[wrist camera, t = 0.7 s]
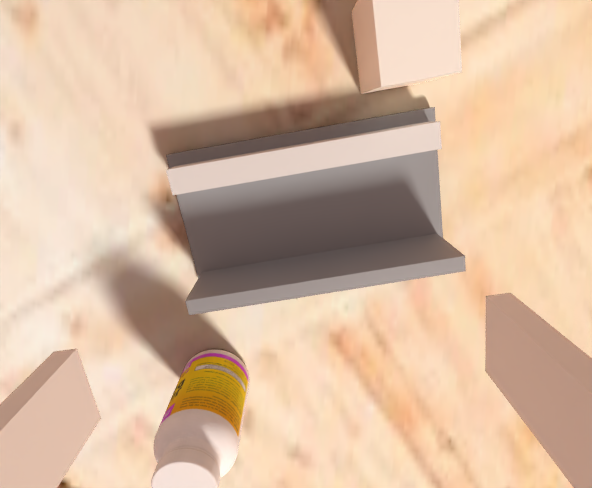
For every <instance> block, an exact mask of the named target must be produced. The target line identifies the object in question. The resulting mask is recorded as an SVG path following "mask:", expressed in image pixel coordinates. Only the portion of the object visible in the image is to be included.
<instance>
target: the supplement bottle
mask: <svg viewBox="0 0 592 488" xmlns="http://www.w3.org/2000/svg"><path fill="white" fill-rule="evenodd" d="M248 388H249V373H248V370H247V368H246V366H245V364H244V363H243V362H242V361H241V360H240V359H239V358H238V357H237V356H235V355H234V354H232V353H230V352H227V351H224V350H206V351H203V352H200V353H198V354H196V355H195V356H194V357H192V358H191V359H190V360H189V361H188V363H187V364H186V366H185V368H184V370H183V372H182V375H181V377H180V379H179V382H178V384H177V386H176V389H175V391H174V393H173V396H172V398H171V400H170V403H169V405H168V407H167V410H166V412H165V415H164V417H163V419H162V422H161V424H160V426H159V428H158V431H157V433H156V436H155V440H154V454H155V458H156V461H157V463H158V464H157V466H156V469H155V472H154V475H153V477H152V482H151V486H152V488H218V486H219V482H220V478H221V477H223V476H224V475H225V474H226V473H227V472H228V471H229V470H230V469H231V467H232V466H233V464H234V462H235V460H236V457H237V454H238V448H239V442H240V435H241V429H242V423H243V417H244V412H245V406H246V400H247V394H248Z"/></svg>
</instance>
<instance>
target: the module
mask: <svg viewBox="0 0 592 488" xmlns="http://www.w3.org/2000/svg"><path fill="white" fill-rule="evenodd" d="M351 14H352V22H353V31H354V40H355V48H356V57H357V66H358V74H359V83H360V92H361V94H364V93H369V92H375V91H380V90H386V89H391V88H397V87H403V86H408V85H414V84H419V83H424V82H428V81H431V80H435V79H439V78H442V77H446V76H450V75H453V74H457V73H461V72H462V62H461V39H460V16H459V0H358V1H357V2H356V4H355V6H354V8H353V10H352V12H351Z"/></svg>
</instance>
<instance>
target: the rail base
mask: <svg viewBox="0 0 592 488" xmlns="http://www.w3.org/2000/svg"><path fill="white" fill-rule="evenodd" d="M438 149H442V146H441V130H440V122H435V107H432V108H425V109H420V110H414V111H409V112H403V113H397V114H392V115H386V116H380V117H375V118H369V119H364V120H358V121H352V122H347V123H341V124H336V125H330V126H324V127H319V128H313V129H307V130H302V131H296V132H291V133H285V134H279V135H274V136H268V137H262V138H257V139H251V140H246V141H240V142H234V143H229V144H223V145H218V146H212V147H206V148H201V149H195V150H189V151H184V152H178V153H173V154H168V155H166V157H167V161H168V165H169V169H167V170H166V172H167V176H168V180H169V183H170V187H171V191H172V195H177V199H178V203H179V206H180V210H181V214H182V218H183V222H184V225H185V229H186V233H187V237H188V241H189V244H190V248H191V252H192V256H193V260H194V263H195V267H196V271H197V275H198V280H197V282H196V284H195V285H194V287H193V289H192V290H191V292H190V294H189V296H188V297H187V299H186V301H185V302H186V305H187V309H188V313H189V315H193V314H199V313H206V312H212V311H218V310H224V309H231V308H237V307H243V306H249V305H256V304H262V303H268V302H274V301H281V300H287V299H293V298H300V297H306V296H312V295H318V294H325V293H331V292H337V291H343V290H350V289H356V288H362V287H368V286H375V285H381V284H387V283H394V282H400V281H406V280H412V279H419V278H425V277H431V276H437V275H444V274H450V273H456V272H463V271H466V270H465V256H464V255H463V254H462V253H461V252H459V251H458V250H457V249H456V248H454V247H453V246H452V245H451V244H449V243H448V242H447V241H446V240H444V239H443V232H442V216H441V201H440V185H439V169H438V154H437V150H438Z"/></svg>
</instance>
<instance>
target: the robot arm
mask: <svg viewBox="0 0 592 488" xmlns="http://www.w3.org/2000/svg"><path fill="white" fill-rule="evenodd" d="M485 371H486V372H487V374H488V375H489V376H490V378H491V379H492V380H493V382H494V383H495V384H496V386H497V387H498V388H499V390H500V391H501V392H502V393H503V395H504V396H505V397H506V399H507V400H508V401H509V403H510V404H511V405H512V407H513V408H514V409H515V411H516V412H517V413H518V415H519V416H520V417H521V419H522V420H523V421H524V423H525V424H526V425H527V426H528V428H529V429H530V430H531V432H532V433H533V434H534V436H535V437H536V438H537V440H538V441H539V442H540V444H541V445H542V446H543V448H544V449H545V450H546V452H547V453H548V454H549V456H550V457H551V458H552V459H553V461H554V462H555V463H556V465H557V466H558V467H559V469H560V470H561V471H562V473H563V474H564V475H565V477H566V478H567V479H568V481H569V482H570V483H571V485H572V486H573V487H574V488H592V358H590V357H589V356H588V355H587V354H586V353H584V352H583V351H582V350H581V349H579V348H578V347H577V346H576V345H574V344H573V343H572V342H571V341H569V340H568V339H567V338H566V337H565V336H563V335H562V334H561V333H560V332H558V331H557V330H556V329H555V328H553V327H552V326H551V325H550V324H548V323H547V322H546V321H545V320H544V319H542V318H541V317H540V316H539V315H537V314H536V313H535V312H534V311H532V310H531V309H530V308H529V307H527V306H526V305H525V304H524V303H523V302H521V301H520V300H519V299H518V298H516V297H515V296H514V295H513V294H511V293H505V294H498V295H490V296H486V360H485ZM100 419H101V416H100V414H99V411H98V408H97V405H96V402H95V399H94V396H93V394H92V391H91V388H90V385H89V382H88V379H87V376H86V374H85V371H84V368H83V365H82V362H81V359H80V356H79V354H78V351H77V349H71V350H63V351H55V352H53V353H52V354H51V355H50V356H49V357H48V358H47V359H46V360H45V361H44V362H43V363H42V364H41V365H40V366H39V367H38V368H37V369H36V370H35V371H34V372H33V373H32V374H31V375H30V376H29V377H28V378H27V379H26V380H25V381H24V382H23V383H22V384H21V385H20V386H19V387H18V388H17V389H16V390H15V391H13V392H12V393H11V394H10V395H9V396H8V397H7V398H6V399H5V400H4V401H3V402H2V403H1V404H0V488H57V487H58V485H59V484H60V482H61V481H62V479H63V477H64V476H65V474H66V473H67V471H68V470H69V468H70V466H71V465H72V463H73V462H74V460H75V459H76V457H77V455H78V454H79V452H80V451H81V449H82V447H83V446H84V444H85V443H86V441H87V440H88V438H89V436H90V435H91V433H92V432H93V430H94V428H95V427H96V425H97V424H98V422H99V421H100Z"/></svg>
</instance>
